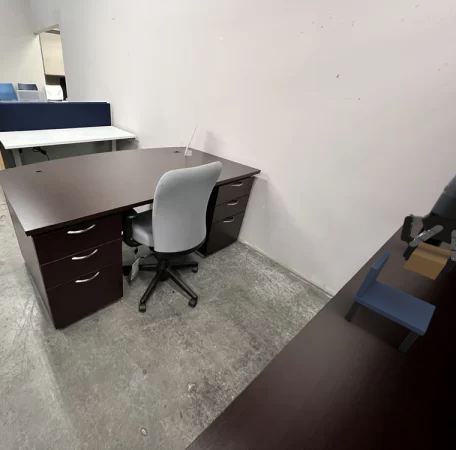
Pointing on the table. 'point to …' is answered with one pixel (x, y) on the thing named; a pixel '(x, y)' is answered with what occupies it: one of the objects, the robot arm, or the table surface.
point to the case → (427, 260)
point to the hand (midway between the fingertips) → (423, 265)
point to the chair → (392, 304)
